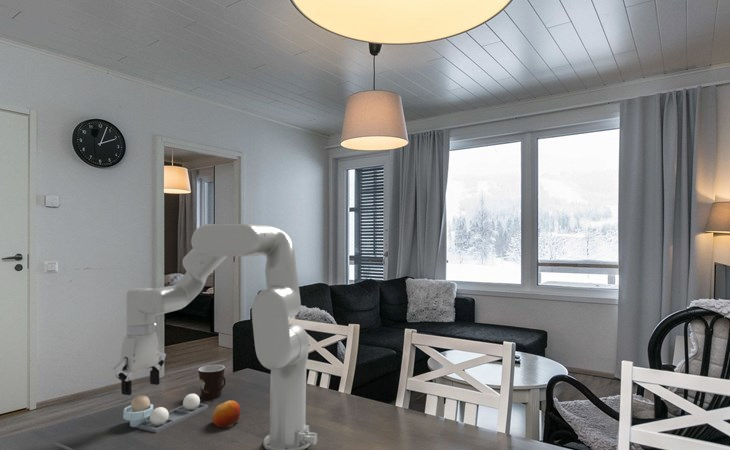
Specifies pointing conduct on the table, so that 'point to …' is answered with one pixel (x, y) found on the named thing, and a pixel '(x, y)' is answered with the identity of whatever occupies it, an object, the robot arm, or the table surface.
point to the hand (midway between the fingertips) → (141, 389)
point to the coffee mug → (211, 381)
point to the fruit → (226, 414)
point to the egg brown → (140, 403)
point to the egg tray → (172, 418)
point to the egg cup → (137, 415)
